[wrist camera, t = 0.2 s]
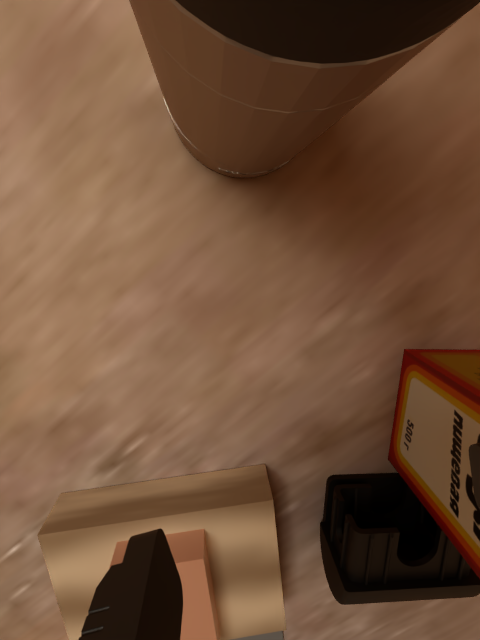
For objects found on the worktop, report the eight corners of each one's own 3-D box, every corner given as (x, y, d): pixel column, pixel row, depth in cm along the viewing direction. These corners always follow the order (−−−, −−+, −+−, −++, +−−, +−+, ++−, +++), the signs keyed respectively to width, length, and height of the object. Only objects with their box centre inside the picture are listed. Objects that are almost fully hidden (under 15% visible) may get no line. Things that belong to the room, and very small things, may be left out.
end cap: (314, 545, 32) (341, 627, 25) (320, 474, 30) (351, 543, 24) (424, 540, 33) (478, 618, 26) (437, 470, 31) (498, 536, 24)
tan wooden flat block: (60, 493, 29) (37, 535, 25) (264, 463, 29) (273, 500, 25) (93, 611, 32) (76, 665, 28) (277, 581, 32) (286, 630, 28)
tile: (117, 542, 25) (107, 573, 23) (204, 528, 26) (203, 558, 23) (139, 639, 28) (133, 677, 25) (219, 626, 28) (220, 662, 26)
